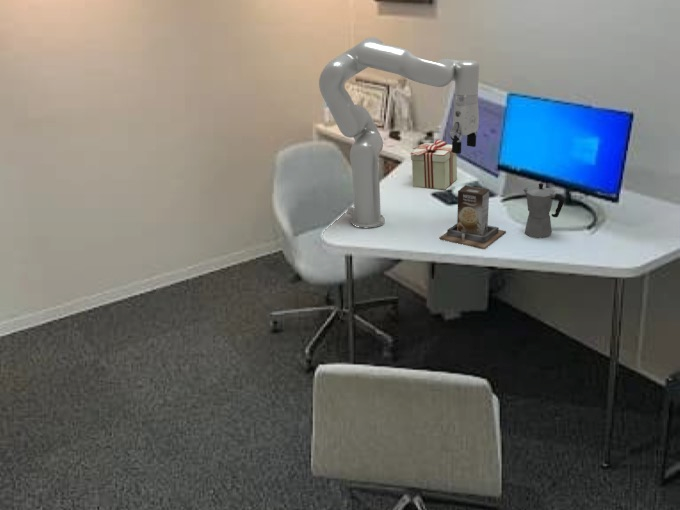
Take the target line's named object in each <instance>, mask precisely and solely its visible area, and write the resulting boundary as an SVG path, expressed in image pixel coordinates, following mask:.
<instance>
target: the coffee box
mask: <svg viewBox="0 0 680 510" xmlns="http://www.w3.org/2000/svg"><path fill="white" fill-rule="evenodd" d="M489 200H490V189H489V188H484V187H483V188H482V187H477V186H471V185H463V186H462V187H461V188H460V189H459V190H458V191H457V217H456V219H457V220H456V222H457V223H456V224H457V231H460V232H465V233H470V234H474V235H479V236H484V235H486V234H487V230H488V224H489V208H490V207H489V203H490V201H489Z"/></svg>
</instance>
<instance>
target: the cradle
mask: <svg viewBox="0 0 680 510" xmlns="http://www.w3.org/2000/svg"><path fill="white" fill-rule="evenodd" d="M506 233H507V231H506V230H502V229H499V227H497V226H492V225H488V230H487V234H486V235H484V236H479V235H474V234H470V233H465V232H460V231H457V223H456V224H454V225H453V226H450V228H447V230H446V232H445V233H443V234H442V235H440V236H439V238H438V239H440V240H441V241H444V240H445V242H448V241H449V243H454V244H457V243H458V245H462V244H463V246H467V247H473V248H475V249H476V248H477V249H481V250H484V249H485V250H486V249H488V248H489V247H490V246H491V245H492V244H494V243H495V242H496V241H498V240H499V239H500V238H502V237H503V236H504V235H505V234H506ZM488 246H489V247H488Z"/></svg>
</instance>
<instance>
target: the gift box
mask: <svg viewBox="0 0 680 510" xmlns="http://www.w3.org/2000/svg"><path fill="white" fill-rule="evenodd" d="M412 149H413V151H411V152H410V160H411V163H412V164H411V166H412V167H411V171H412V187H414V188H422V189H423V188H424V189H434V190H435V189H436V190H437V189H438V190H447V188H449V187H450V186H451V185H452V184H453V183H454V182H455V181H457V180H458V171H457V170H458V169H457V168H458V166H457V165H458V164H457V163H458V162H457V161H458V160H457V157H458V156H457V155H458V154H457V153H452V144H449V143H447V142H446V141H443V140H441V139H439V138H438V139H436V140H435V141H434V143H431V142H429V143H428V142H424V143H421V144H418V145H417V146H415V147H412Z"/></svg>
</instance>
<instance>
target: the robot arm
mask: <svg viewBox="0 0 680 510" xmlns="http://www.w3.org/2000/svg"><path fill="white" fill-rule="evenodd" d="M367 68H370V69H375V70H379V71H383V72H388V73H391V74H395V75H399V76H401V77H403V78H405V79H408V80H409V81H412V82H416V83H418V84H421V85H422V84H423V85H427V86H431V87H436V88H443V87H444V88H445V87H446V86H449V84H450V83H451V82H453V81H454V102H453V103H454V109H453V115H452V127H451V129H450V130H449V134H450V140H451V142H452V143H451V145H452V153H457V155H461V154H462V141H461V140H462V139H463V136H465V137H466V138H467V139H466V146H467V147H473V148H475V147H476V146H477V134H478V130H479V124H480V115H479V114H480V113H479V110H480V109H479V104H478V101H479V100H478V97H479V79H480V78H479V76H480V74H479V73H480V64H479V62H478V61H476V60H473V59H463V60H459V59H451V58H440V59H439V60H437V61H436V62H434V61H431V60H427V59H424V58H423V59H422V58H421V57H418V56H416V55H414V54H413V53H412V52H411V51H410V50H408V49H407V48H404V47H400V46H395V45H391V44H387V43H383V41H382V40H381V39H380V38H377V37H375V36H371V37H369V36H368V37H366V38H364V39H363V40H362V41H361V42H359V43H358V44H356V45H355V46H353V47H351V48H350V49H348V50H346V51H345V52H343V53H341V54H340V55H338V56H336V57H335V58H333V59H332V60H330V61H329V62H328V63H326V65H325V66H324V68H323V69H322V71H321V73H320V76H319V79H318V86H319V87H318V88H319V92H320V94H321V96H322V98H323V101H324V102H325V103H326V106H327V108H328V110H329V112H330V114H331V116H332V118H333V120H334V122H335V124H336V126H337V128H338V130H339V131H340V133H341V134H342V135H343V136H344V137H346V138H353V139H354V142H353V144H352V145H351V148H350V152H349V160H350V165H351V173H352V189H353V191H352V193H353V194H352V195H353V207H352V206H349V207H347V211H346V214H347V215H351V218H350V224H351V223H352V224H354V225H356V226H359V227H374V228H378V227H380V225H381V226H382V225H384V224H385V223H386V218H385V216H384V215H382V214H381V191H380V189H381V188H380V170H379V164H378V163H379V161H378V159H379V155H380V154H381V152H382V150H383V147H384V140H383V138H382V136H381V133H380V131H379V129H378V127H377V125H376V123H375V122H374V120H373V118H372V115H371V114H370V112H369V111H368V109H366V108H365V107H364V106H363V105H361V104H355V102H354V101H353V99H352V97H351V95H350V93H349V92H348V91H347V89H346V88H345V84H346V82H347V81H349V80H351V78H353V77H354V76H356V75H357V74H359V73H361V72H362V71H364V70H366V69H367ZM352 224H351V225H352ZM377 226H378V227H377ZM359 227H358V228H359Z"/></svg>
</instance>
